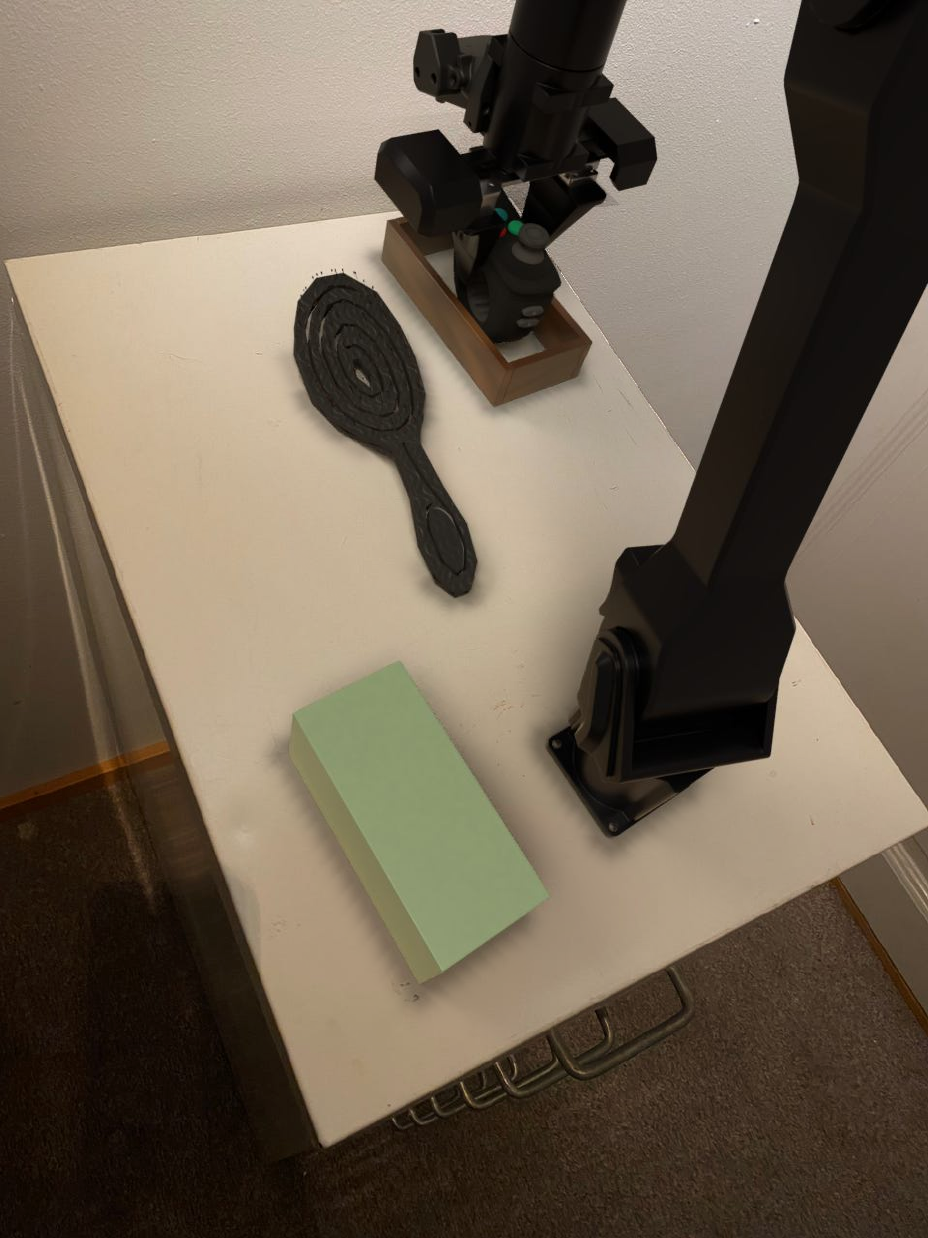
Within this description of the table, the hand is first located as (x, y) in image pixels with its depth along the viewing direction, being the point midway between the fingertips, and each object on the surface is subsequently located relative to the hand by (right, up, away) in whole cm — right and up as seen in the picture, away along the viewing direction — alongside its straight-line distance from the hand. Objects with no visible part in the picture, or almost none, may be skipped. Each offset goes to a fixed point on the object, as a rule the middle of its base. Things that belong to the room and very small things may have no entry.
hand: (491, 272), depth 60 cm
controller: (-1, -2, +4) cm, 4 cm away
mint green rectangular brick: (-5, -36, -16) cm, 40 cm away
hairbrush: (-7, -13, -4) cm, 15 cm away
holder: (-1, -2, +4) cm, 4 cm away
